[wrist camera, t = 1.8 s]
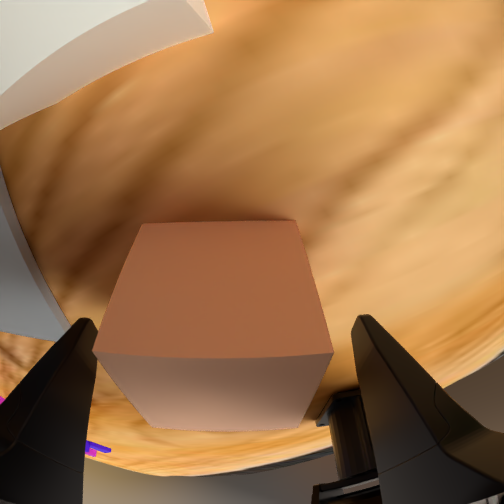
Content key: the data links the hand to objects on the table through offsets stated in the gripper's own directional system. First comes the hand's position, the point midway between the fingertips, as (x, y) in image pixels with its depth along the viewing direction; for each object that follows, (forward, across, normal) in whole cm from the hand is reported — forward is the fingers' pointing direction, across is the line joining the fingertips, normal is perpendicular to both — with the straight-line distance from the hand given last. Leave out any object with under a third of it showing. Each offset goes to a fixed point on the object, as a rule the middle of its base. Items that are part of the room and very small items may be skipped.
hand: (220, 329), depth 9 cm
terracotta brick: (+2, 0, 0) cm, 2 cm away
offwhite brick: (+2, +3, -10) cm, 11 cm away
